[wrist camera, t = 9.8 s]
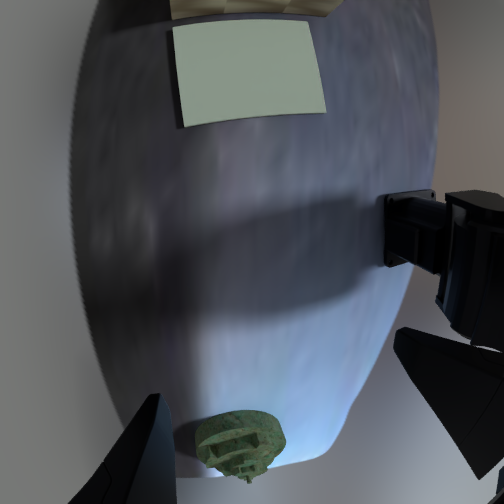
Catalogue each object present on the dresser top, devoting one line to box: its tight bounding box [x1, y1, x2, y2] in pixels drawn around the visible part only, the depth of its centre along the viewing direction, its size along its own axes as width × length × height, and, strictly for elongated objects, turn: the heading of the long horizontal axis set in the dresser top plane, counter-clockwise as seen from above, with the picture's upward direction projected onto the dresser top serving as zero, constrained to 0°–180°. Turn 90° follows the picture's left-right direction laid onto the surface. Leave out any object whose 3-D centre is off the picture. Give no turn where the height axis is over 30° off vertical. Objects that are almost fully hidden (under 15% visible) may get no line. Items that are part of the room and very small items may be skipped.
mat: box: [173, 20, 326, 127], centre depth 16 cm, size 10×8×1 cm
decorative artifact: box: [195, 410, 286, 484], centre depth 23 cm, size 10×7×10 cm
